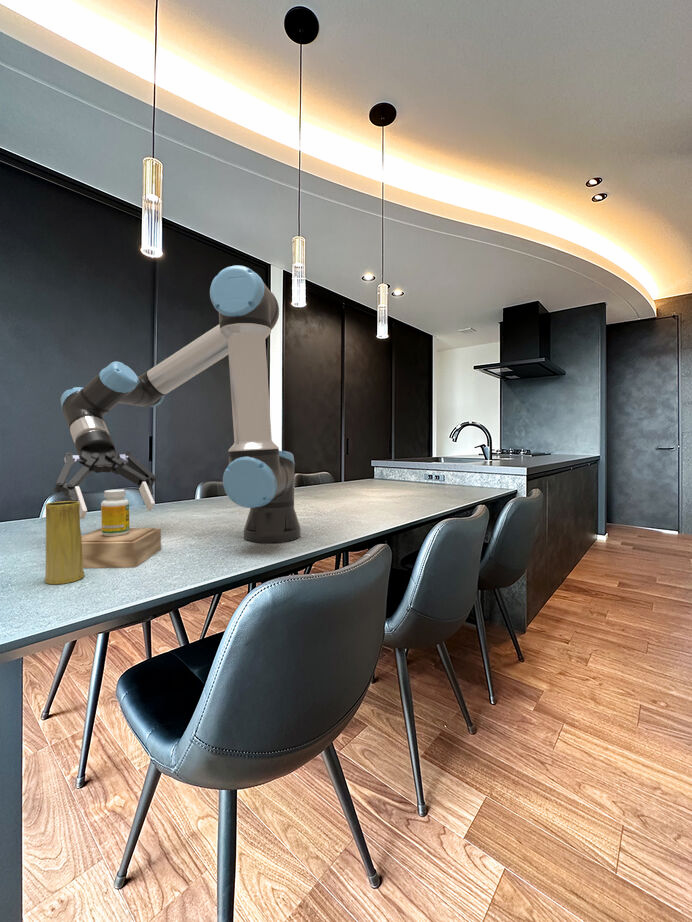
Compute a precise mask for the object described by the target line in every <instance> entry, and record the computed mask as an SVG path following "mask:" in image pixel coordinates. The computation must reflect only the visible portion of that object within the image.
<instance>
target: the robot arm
mask: <svg viewBox="0 0 692 922" xmlns="http://www.w3.org/2000/svg"><path fill="white" fill-rule="evenodd" d="M264 282H265V281H263V279H262V278H261V276H260V275H259V274H258V273H257V272H255V271H254V270H252V269H251V268H249V267H248V266H247V267H246V266H244V265H240V264H239V265H237V264H236V265H232V266H227V267H225V268H223V269H222V270H220V271H219V272H218V273H217V275H215V277H214V278H213V279H212V281H211V285H210V288H209V298H210V301H211V304H212V305H213V307H214V309H215V310H216V311H217V312H218V323H219V324H217V325H216V326H214V327H213V328H211V329H210V330H208V331H206V332H205V333H204V334H202V335H200V336H199V337H197V338H196V339H194V340H193V341H191V342H190V343H188V344H187V345H185V346H184V347H182V348H181V349H179V350H178V351H175V353H173V354H172V355H170V356H169V357H166V358H165V359H164V360H162V361H161V362H159V363H158V364H156V365H155V366H153V367H152V368H150V369H149V370H148V371H147V370H146V372H144V373H142V374H141V375H137V374H136V373H135V372H134V370H133V369H132V368H130V367H129V366H128V365H125V364H124V363H123V362H121V361H112V362H110V363H109V364H108V365H106V367H104V368H102V369H101V370H100V372H99V373H98V374H96V375H95V376H94V377H93V378H92V380H90V381H89V382H88V383H87V384H86V385H85V386H83V387H82V386H81V387H80V386H78V387H77V386H75V387H72V388H70V389H67V390H65V391H64V392H63V393H62V394H61V396H60V405H61V412H62V414H63V416H64V418H65V421H66V422H67V426H68V429H69V431H70V432H69V433H70V435H71V438H72V441H73V443H74V447H75V449H76V452H77V454H76V455H75V454H73V453H72V452H71V451H68V452H65V456H64V459H63V467H62V469H61V471H60V473H59V476H58V478H57V480H56V483H55V487H54V490H53V491H54V492H55V493H61V492H63V493H64V497H67V501H78V502H80V510H79V513H80V520H84V519H85V518H86V517H87V516H86V515H87V513H88V509H87V506H86V505H87V504H86V503H85V500H84V496H83V493H82V490H81V488H80V484H81V483H82V482H83V481H84V479H85V478H86V477H88V476H89V475H90V474H91V472H94V473H95V474H100V473H111V472H112V473H114V474H115V475H120V476H122V477H123V478H125V479H126V480H128V481H130V482H132V483H134V484H135V485H137V486H139V489H138V490H139V492H140V495H141V497H142V500H143V502H144V505H145V508H146V509H147V512H150V511H152V510H153V508H154V507H155V504H156V502H155V500H154V498H153V495H154V490H153V488H152V486H153V485H154V483H155V481H156V479H157V476H156V475H155V474H154V473H153V472H151V471H150V470H149V469H148V468H147V467H145V466H144V465H143V464H142V463H140V461H139V460H137V458H135V457H134V455H133V453H132V452H131V451H130V450H129V451H128V450H127V451H126V452H125V453H124V454H119V453H118V452H117V451H116V448H115V444H114V442H113V440H112V437H111V435H110V432H109V429H108V428H107V425H106V423H105V420H104V416H105V415H106V414H108V413H109V412H110V411H111V410H113V408H115V406H116V405H118V404H124V405H131V406H137V407H141V408H155V407H158V406H160V405H161V404H162V403H163V401H164V399H165V396H166V395H167V394H168V393H170V392H171V391H173V390H175V389H176V388H179V386H182V384H185V383H186V382H188V381H189V380H191V379H192V378H194V377H196V376H197V375H199V374H200V373H201V372H203V371H205V370H207V369H208V368H209V367H211V366H213V365H214V364H216V363H217V362H219V361H220V360H223V359H224V358H225V357H226V356H228V365H229V380H230V381H229V382H230V395H231V396H230V397H231V408H232V409H231V410H232V425H233V427H232V428H233V439H234V440H233V441H234V442H233V445H231V446H230V448H229V449H228V453H227V454H228V465H227V467H226V468H225V470H224V472H223V474H222V475H223V477H222V485H223V489H224V492H225V494H226V495H227V497H228V499H229V500H231V501H232V502H233V503H234V504H236V505H238V506H239V507H242V508H247V509H248V508H249V512H248V514H247V518H246V521H245V525H244V528H243V539H244V540H246V541H249V542H252V543H253V542H254V543H264V544H265V543H266V544H267V543H268V544H269V543H271V542H276V543H283V542H282V541H285V542H289V541H288V540H291V541H294V540H293V539H295V540H297V539H299V538H300V537H301V536H300V535H301V533H302V532H301V525H300V521H299V519H298V516H297V511H296V509H295V466H296V463H295V458H294V457H295V456H294V453H292V452H290V451H286V450H280V449H279V446H278V445H276V443H274V442H273V440H272V439H273V438H272V428H271V427H272V425H271V408H270V393H269V379H268V376H269V375H268V363H267V359H268V358H267V347H266V345H267V344H266V339H267V338H268V337H269V336H270V334H271V333H272V330H273V329H275V326H276V325H277V322H278V321H279V320H278V319H279V315H280V307H279V303H278V299H277V298H276V296H275V294H273V292H272V291H271V290H270V289H269V288H268V287H267V285H266V283H264ZM77 462H78V463H79V464H80V465H82V467H81V468H80V469H79V471H77V473H75V474H74V476H73V477H72V478H71V479H70V480H69V482H66V480H67V478H68V476H69V474H70V473H71V472H70V471H71V469H72V467H73V466H74V465H76V463H77ZM116 466H117V467H116ZM298 537H299V538H298ZM296 538H297V539H296Z"/></svg>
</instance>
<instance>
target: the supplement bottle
mask: <svg viewBox="0 0 692 922" xmlns="http://www.w3.org/2000/svg"><path fill="white" fill-rule="evenodd" d="M103 493H104V494H103V497H104V498H105V499H104V500H102V501H101V503H100V511H101V518H100V519H101V529H102V535H104V536H121V535H125V534H128V533H129V531H130V530H129V529H130V528H131V527H130V502H129V500H128V499H126V498H125V497H126V494H127V493H126V489H121V488H119V489H107V490H104V492H103Z"/></svg>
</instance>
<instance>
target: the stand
mask: <svg viewBox="0 0 692 922" xmlns="http://www.w3.org/2000/svg"><path fill="white" fill-rule="evenodd" d="M129 530H130V531H129V533H128V534H125V535H121V536H104V535H102V528H98V529H96V530H94V531H91V532H88V533H85V534H83V535H81V538H82V555H83V569H101V568H107V569H108V568H110V569H111V568H137V567H138V566H139V565H141V564H142V563H143V562H145V561H147V560H148V559H149V558H150V557H152V556H153V555H155V554H157V553H158V552H160V550H162V541H161V540H162V538H161V537H162V536H161V535H162V532H161V531H162V530H161V528H156V527H151V528H150V527H147V528H146V527H144V528H143V527H141V528H140V527H135V528H134V527H133V528H132V527H130V529H129Z"/></svg>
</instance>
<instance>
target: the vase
mask: <svg viewBox="0 0 692 922" xmlns="http://www.w3.org/2000/svg"><path fill="white" fill-rule="evenodd" d="M79 510H80V502H78V501H69V500H64V501H52V502H48V503H46V504H45V576H44V582H45V583H46V585H47V584H48V585H63V584H71V583H73V582H78V581H79V580H82V579H83V578H84V577H85V571H84V568H83V555H82V538H81V536H82V531H81V519H80V513H79Z"/></svg>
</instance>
